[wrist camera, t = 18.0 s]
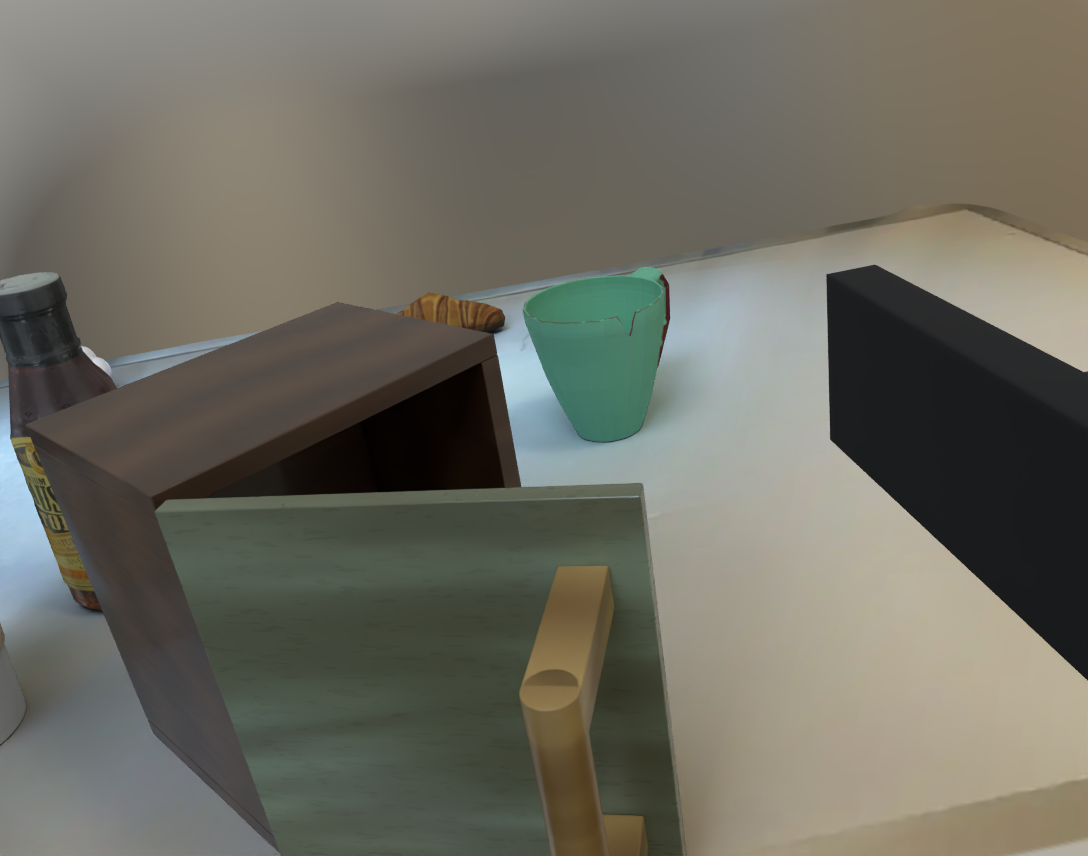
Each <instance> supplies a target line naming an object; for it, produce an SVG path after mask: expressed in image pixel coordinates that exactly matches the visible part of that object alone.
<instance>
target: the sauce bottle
mask: <svg viewBox="0 0 1088 856" xmlns="http://www.w3.org/2000/svg"><path fill="white" fill-rule="evenodd" d="M66 299H67V293H66V291H65V287H64V285H63V283H62V280H61V278H60V276H59V274H56V273H50V272H46V273H43V272H41V273H32V274H25V275H20V276H15V277H12V278H9V279H4V280H2V281H0V339H1V342H2V344H3V347H4V350H5V353H6V360H7V362H8V367H9V398H10V425H11V435H10V439H11V442H12V444H13V447H14V450H15V453H16V455H17V459H18V461H19V463H20V465H21V468H22V471H23V473H24V476H25V479H26V483H27V485H28V488H29V491H30V492H31V495H32V497H33V499H34V504H35V507H36V509H37V512H38V515H39V517H40V519H41V522H42V525H43V527H44V529H45V532H46V535H47V537H48V540H49V543H50V545H51V548H52V551H53V553H54V556H55V558H56V561H57V563H58V566H59V569H60V572H61V575H62V577H63V580H64V582H65V583H66V584H67V585H68V587H69V589H70V591H71V593H72V596H73V598H74V600H75V601H76V602H78V603H79V604H81V605H82V606H84V607H86V608H90V609H93V610H94V609H99V610H102V609H101V606H100V604H99V602H98V599H97V597H96V594H95V592H94V590H93V587H92V585H91V582H90V580H89V578H88V575H87V573H86V570H85V568H84V566H83V563H82V561H81V558H80V556H79V554H78V551H77V549H76V546H75V544H74V541H73V539H72V537H71V534H70V532H69V529H68V527H67V525H66V522H65V520H64V517H63V515H62V513H61V510H60V508H59V505H58V503H57V501H56V498H55V496H54V493H53V491H52V489H51V486H50V484H49V481H48V479H47V477H46V474H45V472H44V469H43V467H42V465H41V462H40V460H39V457H38V455H37V453H36V450H35V448H34V446H35V445H34V444H33V443H32V440H31V438H30V435H29V433H28V430H27V428H26V424H28V423H30V422H33V421H36V420H38V419H41V418H43V417H46V416H48V415H51V414H53V413H56V412H59V411H61V410H64V409H66V408H69V407H71V406H74V405H76V404H79V403H81V402H84V401H87V400H89V399H92V398H94V397H97V396H99V395H102V394H104V393H107V392H110V391H112V390H115V389H117V388H116V386H115V384H114V383H113V380H112V379H111V377H110V376H109V375H108V374H107V373H106V372H105V371H103V370H102V369H101V368H100V367H99V366H97V365H96V364H95V363H93V362H92V361H91V359H90V358H89V357H88V356H87V355H86V354H85V353H84V352H83V350H82V348H81V342H80V339H79V338H78V337H77V336H76V333H75V330H74V327H73V324H72V321H71V318H70V315H69V312H68V309H67V306H66Z"/></svg>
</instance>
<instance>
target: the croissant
mask: <svg viewBox="0 0 1088 856" xmlns="http://www.w3.org/2000/svg"><path fill="white" fill-rule="evenodd" d="M396 314H397V315H402V316H407V317H412V318H417V319H422V320H427V321H432V322H437V323H442V324H446V325H451V326H456V327H461V328H466V329H471V330H476V331H481V332H486V333H488V332H491V331H494V330H496V329H498V328H500V327H503V326H504V322H505V316H504V314H503V312H502V310H501V309H499V308H496V307H493V306H490V305H488V304H484V303H478V302H473V301H467V300H456V299H453V298H451V297H448V296H444V295H439V294H434V293H427V294H425V295H424V296H422V297H421V298H419V299H417V300H416V301H414V302H413V303H411V304H410V305H409V306H408V307H407V308H406V309H405V310H403V311H401V312H398V313H396Z"/></svg>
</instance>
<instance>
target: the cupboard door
mask: <svg viewBox="0 0 1088 856" xmlns="http://www.w3.org/2000/svg"><path fill="white" fill-rule="evenodd" d="M155 515H156V517H157V520H158V523H159V526H160V528H161V531H162V534H163V536H164V539H165V542H166V545H167V547H168V550H169V553H170V555H171V558H172V561H173V564H174V566H175V569H176V572H177V574H178V577H179V580H180V583H181V585H182V588H183V591H184V593H185V596H186V599H187V602H188V604H189V607H190V610H191V612H192V615H193V618H194V621H195V623H196V626H197V629H198V631H199V634H200V637H201V640H202V642H203V645H204V648H205V650H206V653H207V656H208V659H209V661H210V664H211V667H212V669H213V672H214V675H215V678H216V680H217V683H218V686H219V688H220V691H221V694H222V697H223V699H224V702H225V705H226V707H227V710H228V713H229V716H230V718H231V721H232V724H233V726H234V729H235V732H236V735H237V737H238V740H239V743H240V745H241V748H242V751H243V754H244V756H245V759H246V762H247V764H248V767H249V770H250V773H251V775H252V778H253V781H254V783H255V786H256V789H257V792H258V794H259V797H260V800H261V802H262V805H263V808H264V811H265V813H266V816H267V819H268V821H269V824H270V827H271V830H272V832H273V835H274V838H275V840H276V843H277V846H278V849H279V851H280V854H281V856H687V853H686V845H685V836H684V828H683V819H682V811H681V802H680V794H679V785H678V777H677V768H676V760H675V751H674V743H673V734H672V726H671V717H670V709H669V700H668V692H667V683H666V675H665V666H664V658H663V649H662V641H661V632H660V624H659V615H658V607H657V598H656V590H655V581H654V573H653V564H652V556H651V547H650V539H649V530H648V522H647V513H646V505H645V496H644V488H643V484H642V483H632V484H603V485H575V486H546V487H518V488H489V489H461V490H432V491H404V492H375V493H347V494H318V495H290V496H261V497H232V498H204V499H175V500H166V501H165V502H164V503H163V504H162V505H161V506H160V507H159V508H158V509H157V510H156V511H155Z"/></svg>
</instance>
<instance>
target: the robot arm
mask: <svg viewBox="0 0 1088 856" xmlns="http://www.w3.org/2000/svg"><path fill="white" fill-rule="evenodd" d="M827 317H828V360H829V404H830V440H831V441H832V442H833V443H835V444H836V445H837V446H838V447H839V448H840V449H841V450H842V451H843V452H844V453H845V454H846V455H847V456H848V457H850V458H851V459H852V460H853V461H854V462H855V463H856V464H857V465H858V466H859V467H860V468H861V469H862V470H863V471H864V472H866V473H867V474H868V475H869V476H870V477H871V478H872V479H873V480H874V481H875V482H876V483H877V484H878V485H879V486H880V487H882V488H883V489H884V490H885V491H886V492H887V493H888V494H889V495H890V496H891V497H892V498H893V499H894V500H895V501H897V502H898V503H899V504H900V505H901V506H902V507H903V508H904V509H905V510H906V511H907V512H908V513H909V514H910V515H911V516H913V517H914V518H915V519H916V520H917V521H918V522H919V523H920V524H921V525H922V526H923V527H924V528H925V529H926V530H928V531H929V532H930V533H931V534H932V535H933V536H934V537H935V538H936V539H937V540H938V541H939V542H940V543H941V544H942V545H944V546H945V547H946V548H947V549H948V550H949V551H950V552H951V553H952V554H953V555H954V556H955V557H956V558H957V559H958V560H960V561H961V562H962V563H963V564H964V565H965V566H966V567H967V568H968V569H969V570H970V571H971V572H972V573H973V574H975V575H976V576H977V577H978V578H979V579H980V580H981V581H982V582H983V583H984V584H985V585H986V586H987V587H988V588H989V589H991V590H992V591H993V592H994V593H995V594H996V595H997V596H998V597H999V598H1000V599H1001V600H1002V601H1003V602H1004V603H1005V604H1007V605H1008V606H1009V607H1010V608H1011V609H1012V610H1013V611H1014V612H1015V613H1016V614H1017V615H1018V616H1019V617H1020V618H1022V619H1023V620H1024V621H1025V622H1026V623H1027V624H1028V625H1029V626H1030V627H1031V628H1032V629H1033V630H1034V631H1035V632H1036V633H1038V634H1039V635H1040V636H1041V637H1042V638H1043V639H1044V640H1045V641H1046V642H1047V643H1048V644H1049V645H1050V646H1051V647H1052V648H1054V649H1055V650H1056V651H1057V652H1058V653H1059V654H1060V655H1061V656H1062V657H1063V658H1064V659H1065V660H1066V661H1067V662H1069V663H1070V664H1071V665H1072V666H1073V667H1074V668H1075V669H1076V670H1077V671H1078V672H1079V673H1080V674H1081V675H1082V676H1083V677H1085V678H1086V679H1087V680H1088V371H1087V372H1082V371H1080V370H1078V369H1076V368H1074V367H1073V366H1071V365H1069V364H1067V363H1065V362H1063V361H1061V360H1059V359H1057V358H1055V357H1053V356H1051V355H1049V354H1047V353H1045V352H1043V351H1041V350H1040V349H1038V348H1036V347H1034V346H1032V345H1030V344H1028V343H1026V342H1024V341H1022V340H1020V339H1018V338H1016V337H1014V336H1012V335H1010V334H1009V333H1007V332H1005V331H1003V330H1001V329H999V328H997V327H995V326H993V325H991V324H989V323H987V322H985V321H983V320H981V319H979V318H977V317H976V316H974V315H972V314H970V313H968V312H966V311H964V310H962V309H960V308H958V307H956V306H954V305H952V304H950V303H948V302H946V301H945V300H943V299H941V298H939V297H937V296H935V295H933V294H931V293H929V292H927V291H925V290H923V289H921V288H919V287H917V286H915V285H913V284H912V283H910V282H908V281H906V280H904V279H902V278H900V277H898V276H896V275H894V274H892V273H890V272H888V271H886V270H884V269H882V268H881V267H879V266H877V265H871V266H866V267H861V268H856V269H851V270H846V271H841V272H836V273H831V274H827Z"/></svg>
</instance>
